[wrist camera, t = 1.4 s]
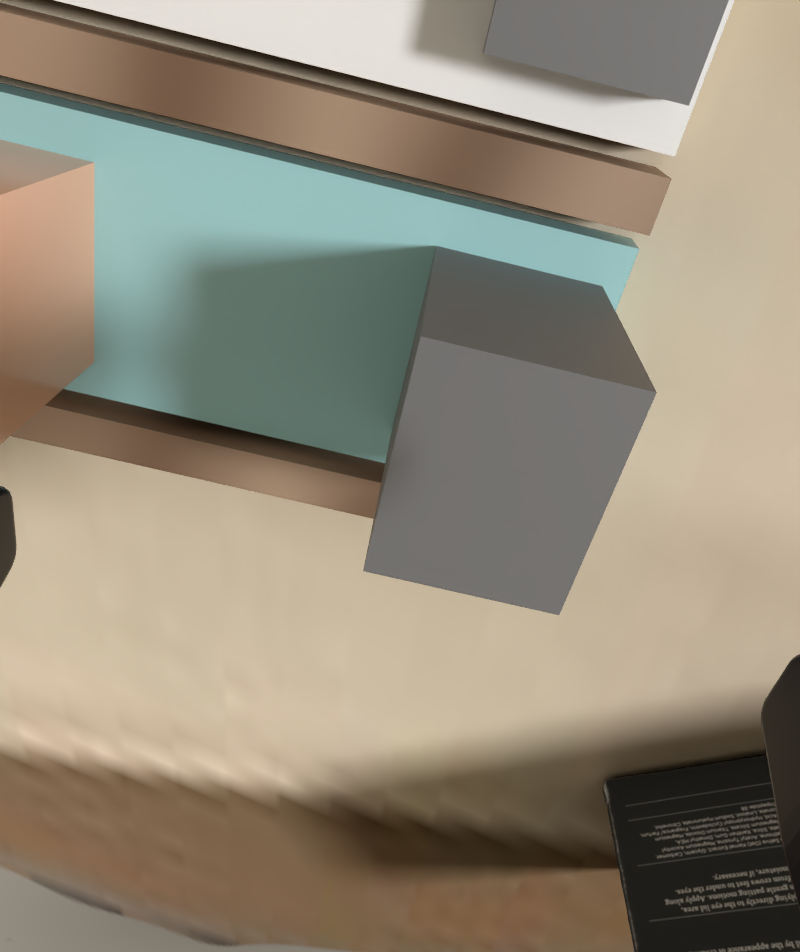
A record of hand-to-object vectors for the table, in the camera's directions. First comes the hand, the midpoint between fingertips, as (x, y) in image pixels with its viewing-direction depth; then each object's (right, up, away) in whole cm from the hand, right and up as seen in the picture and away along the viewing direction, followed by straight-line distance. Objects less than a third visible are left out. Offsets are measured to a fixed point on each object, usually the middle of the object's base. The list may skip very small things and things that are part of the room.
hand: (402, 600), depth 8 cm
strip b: (-5, +6, +11) cm, 14 cm away
